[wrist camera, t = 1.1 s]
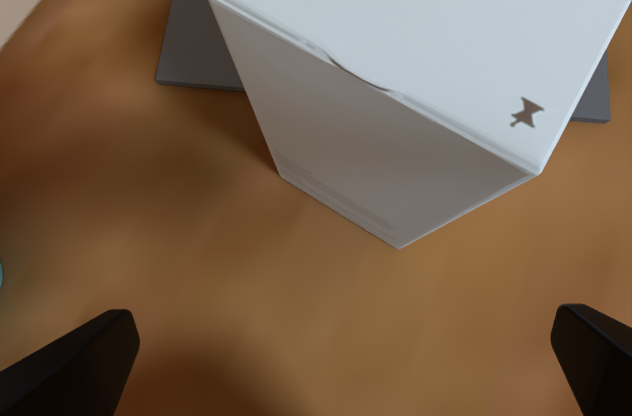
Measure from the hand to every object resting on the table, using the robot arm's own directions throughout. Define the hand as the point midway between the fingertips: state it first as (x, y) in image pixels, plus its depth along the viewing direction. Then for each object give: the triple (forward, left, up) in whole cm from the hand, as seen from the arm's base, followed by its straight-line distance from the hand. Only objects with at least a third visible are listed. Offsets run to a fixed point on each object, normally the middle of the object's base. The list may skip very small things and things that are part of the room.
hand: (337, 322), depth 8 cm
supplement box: (+6, -7, -14) cm, 17 cm away
